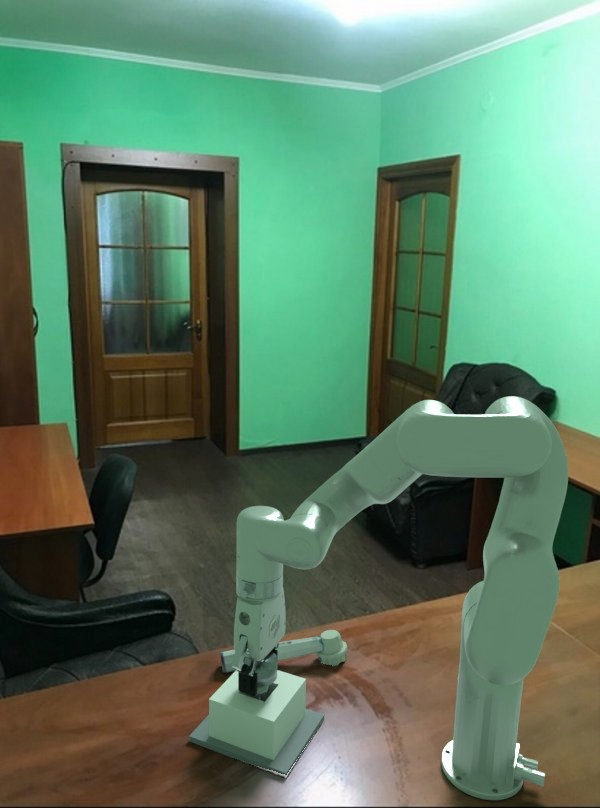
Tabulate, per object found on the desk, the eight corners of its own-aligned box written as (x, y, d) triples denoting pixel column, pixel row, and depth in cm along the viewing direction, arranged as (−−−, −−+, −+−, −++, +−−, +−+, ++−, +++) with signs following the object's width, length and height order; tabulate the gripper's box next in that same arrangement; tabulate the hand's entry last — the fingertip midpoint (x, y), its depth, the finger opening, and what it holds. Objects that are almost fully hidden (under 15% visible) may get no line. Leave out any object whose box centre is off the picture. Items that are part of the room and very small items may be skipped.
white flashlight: (219, 645, 130) (341, 619, 134) (224, 674, 131) (344, 648, 135) (221, 661, 125) (347, 633, 129) (226, 691, 126) (351, 663, 130)
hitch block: (324, 719, 115) (325, 679, 113) (286, 778, 102) (286, 733, 100) (235, 689, 122) (235, 651, 121) (189, 741, 109) (188, 698, 107)
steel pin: (283, 701, 113) (284, 654, 111) (265, 724, 107) (266, 675, 105) (250, 690, 115) (251, 644, 113) (231, 712, 110) (231, 664, 108)
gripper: (253, 613, 97) (252, 719, 101) (303, 566, 112) (300, 659, 116) (210, 601, 100) (211, 704, 104) (264, 556, 115) (263, 648, 119)
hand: (258, 679), depth 110 cm, fingers closed on steel pin, 6 cm apart
